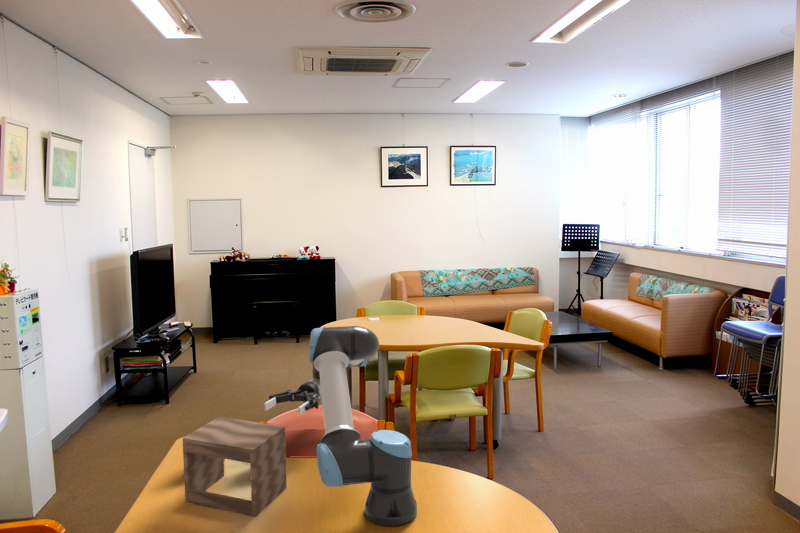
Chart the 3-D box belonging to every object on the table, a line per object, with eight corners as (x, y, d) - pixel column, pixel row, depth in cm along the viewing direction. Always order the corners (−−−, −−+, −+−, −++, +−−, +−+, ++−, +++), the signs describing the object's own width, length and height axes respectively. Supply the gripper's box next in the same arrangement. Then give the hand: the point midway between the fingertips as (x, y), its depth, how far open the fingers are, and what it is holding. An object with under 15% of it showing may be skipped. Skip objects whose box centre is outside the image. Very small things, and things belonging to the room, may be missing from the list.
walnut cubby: (221, 475, 180) (219, 416, 178) (286, 488, 173) (285, 426, 170) (185, 502, 164) (182, 437, 162) (255, 517, 156) (253, 449, 154)
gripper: (340, 403, 209) (314, 423, 189) (282, 396, 217) (251, 415, 197) (339, 384, 208) (313, 402, 188) (282, 378, 216) (251, 395, 196)
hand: (282, 409), depth 193 cm, fingers open, 13 cm apart
